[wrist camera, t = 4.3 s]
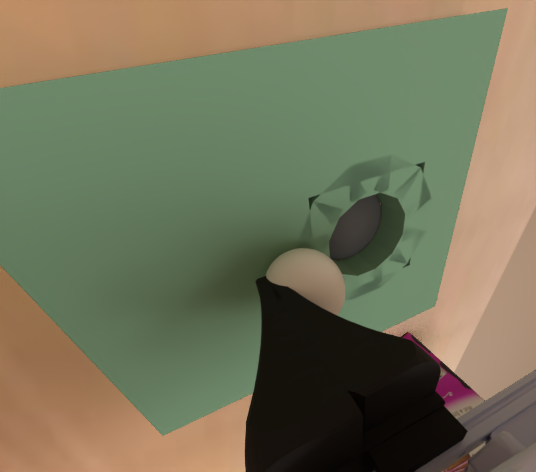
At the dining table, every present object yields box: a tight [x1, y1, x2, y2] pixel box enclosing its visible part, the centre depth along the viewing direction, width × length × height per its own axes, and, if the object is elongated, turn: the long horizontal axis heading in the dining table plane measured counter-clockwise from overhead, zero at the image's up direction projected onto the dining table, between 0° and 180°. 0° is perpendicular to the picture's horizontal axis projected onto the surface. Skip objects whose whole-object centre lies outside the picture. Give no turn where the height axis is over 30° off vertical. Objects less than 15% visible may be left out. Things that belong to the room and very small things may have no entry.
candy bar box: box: [401, 333, 485, 472], centre depth 19 cm, size 11×5×16 cm, turn 119°
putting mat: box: [0, 8, 508, 436], centre depth 14 cm, size 24×20×2 cm
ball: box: [265, 248, 345, 315], centre depth 11 cm, size 4×4×4 cm
